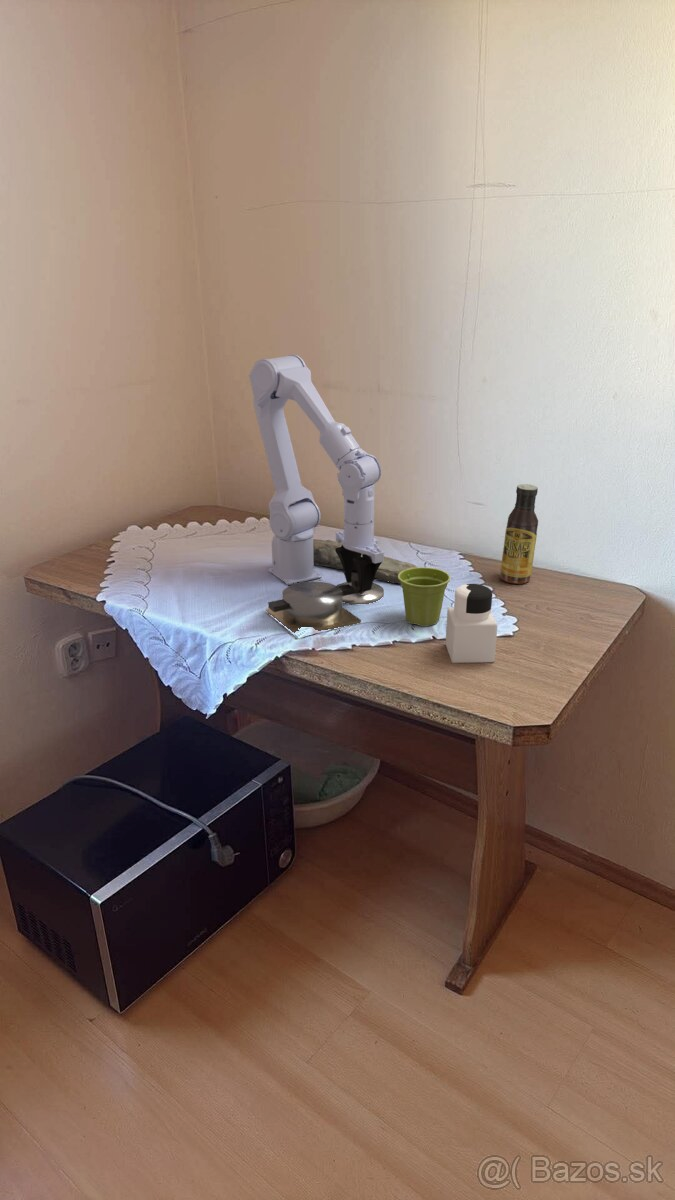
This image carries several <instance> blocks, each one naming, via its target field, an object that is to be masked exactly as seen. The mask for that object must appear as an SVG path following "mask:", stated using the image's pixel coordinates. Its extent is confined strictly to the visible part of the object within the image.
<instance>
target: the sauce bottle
mask: <svg viewBox="0 0 675 1200" xmlns="http://www.w3.org/2000/svg"><path fill="white" fill-rule="evenodd" d="M515 492H516V497H515V498H516V499H515V504H514V507H513V509H512V511H511V512H510V514H509V515H508V517H507V523H506V527H505V534H504V542H503V549H502V556H501V557H502V558H501V566H500V578H501V580H502V581H504V582H505V583H509V584H516V585H523V584H527V583H528V582H529V581H530V578H531V576H532V573H533V572H532V571H533V566H534V565H533V563H534V557H535V551H536V544H537V543H536V542H537V537H538V526H539V520H538V517H537V514H536V513H535V508H536V506H535V504H536V498H537V495H538V492H539V489H538V486H537V485H534V484H528V483H522V484H518V485H517V486H516V491H515Z"/></svg>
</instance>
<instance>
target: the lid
mask: <svg viewBox="0 0 675 1200" xmlns="http://www.w3.org/2000/svg"><path fill="white" fill-rule="evenodd" d="M347 584H349V585H350V586H352V587H353V588H355V594H350V595H346V596H342V602H345V603H344V604H346V603H349V604H348V605H352V604H366V605H370V604H369V603H372V604H374V603H373V602H375V603H377V602H376V601H378V600H380V599H381V598H382V597H383V598H384V596H385V595H384V594H385V591H384V587H382V586H381V585H380V584H378V583H375V582H373V584H372V587H371V590H369V591H365V592H361V591H360V588H359V578H358V572H357V569H354V570H352V572H351V583H347V581H344V582H342V583H341V582H340V583H338V584H337V585H336V586H338V587H339V586H343V585H347ZM383 598H382V599H383ZM382 599H381V600H382ZM381 600H380V601H381ZM378 602H379V601H378Z"/></svg>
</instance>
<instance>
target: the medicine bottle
mask: <svg viewBox="0 0 675 1200" xmlns="http://www.w3.org/2000/svg"><path fill="white" fill-rule="evenodd" d="M453 603H454V604H453V606H452V607H451V606H450V607H447V610H446V611H447V613H446V628H445V646H446V649H447V652H448V654H449V658H450V660H451V663H452V664H466V663H470V664H471V663H472V664H474V663H477V664H478V663H494V662H495V658H496V647H497V635H498V622H497V620H496V618H495V616H494V615H493V612H492V603H493V591H492V590H491V588H489V587H487V586H486V585H483V584H480V583H466V584H462V585H459V586H458V587H456V588H455V590H454V602H453Z"/></svg>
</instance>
